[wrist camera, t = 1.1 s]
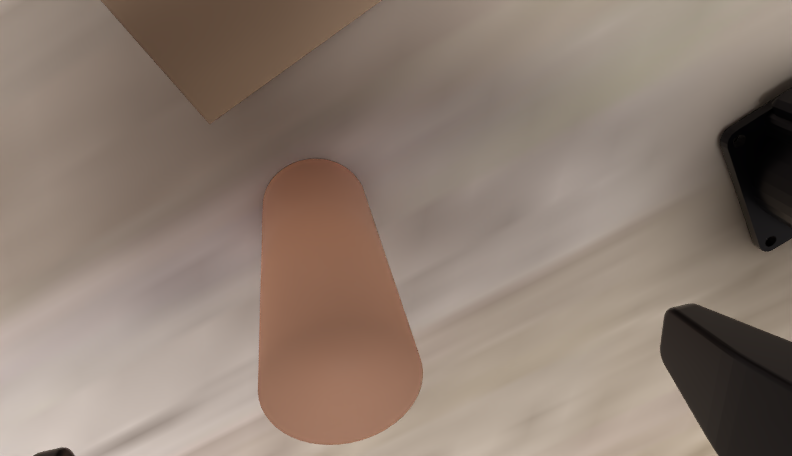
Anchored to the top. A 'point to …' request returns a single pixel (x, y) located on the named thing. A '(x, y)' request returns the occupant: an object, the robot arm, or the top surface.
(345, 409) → the peg
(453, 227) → the top surface
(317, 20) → the socket block
